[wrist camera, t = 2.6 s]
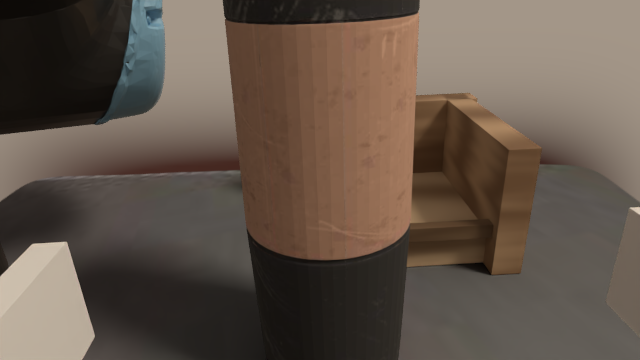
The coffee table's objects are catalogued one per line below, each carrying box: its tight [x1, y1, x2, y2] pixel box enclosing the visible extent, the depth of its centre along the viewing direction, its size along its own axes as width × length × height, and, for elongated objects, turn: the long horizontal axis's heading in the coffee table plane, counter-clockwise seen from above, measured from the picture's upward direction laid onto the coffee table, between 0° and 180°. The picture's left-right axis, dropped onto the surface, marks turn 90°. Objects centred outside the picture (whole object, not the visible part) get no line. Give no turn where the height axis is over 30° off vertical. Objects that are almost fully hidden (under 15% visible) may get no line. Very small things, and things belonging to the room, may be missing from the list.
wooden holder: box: [407, 93, 542, 275], centre depth 36 cm, size 14×15×9 cm
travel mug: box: [223, 0, 419, 360], centre depth 21 cm, size 8×8×20 cm
